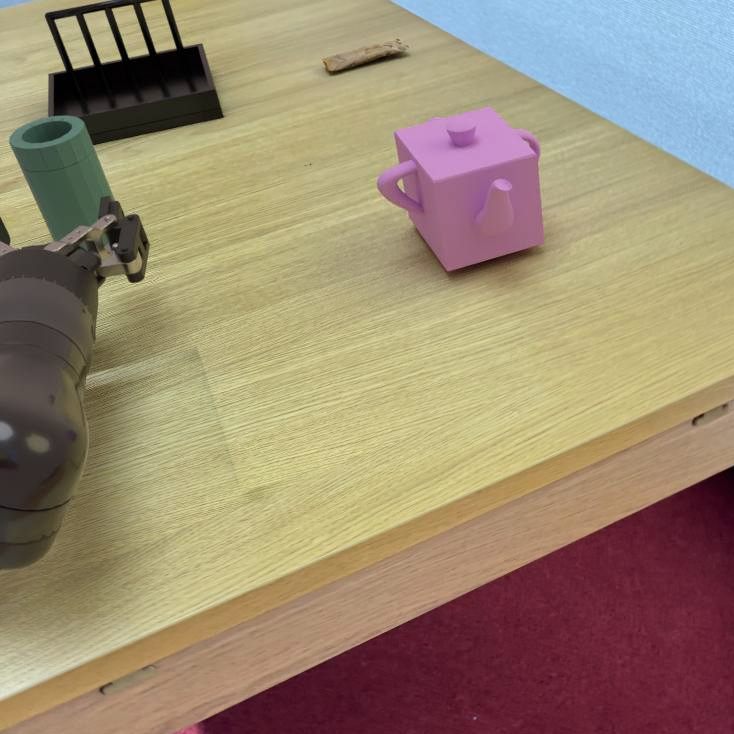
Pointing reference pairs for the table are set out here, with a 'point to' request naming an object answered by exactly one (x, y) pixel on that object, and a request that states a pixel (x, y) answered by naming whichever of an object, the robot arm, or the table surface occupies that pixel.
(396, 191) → the teapot
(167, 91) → the dish rack
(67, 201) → the jar
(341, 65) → the snack bar
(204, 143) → the table surface
